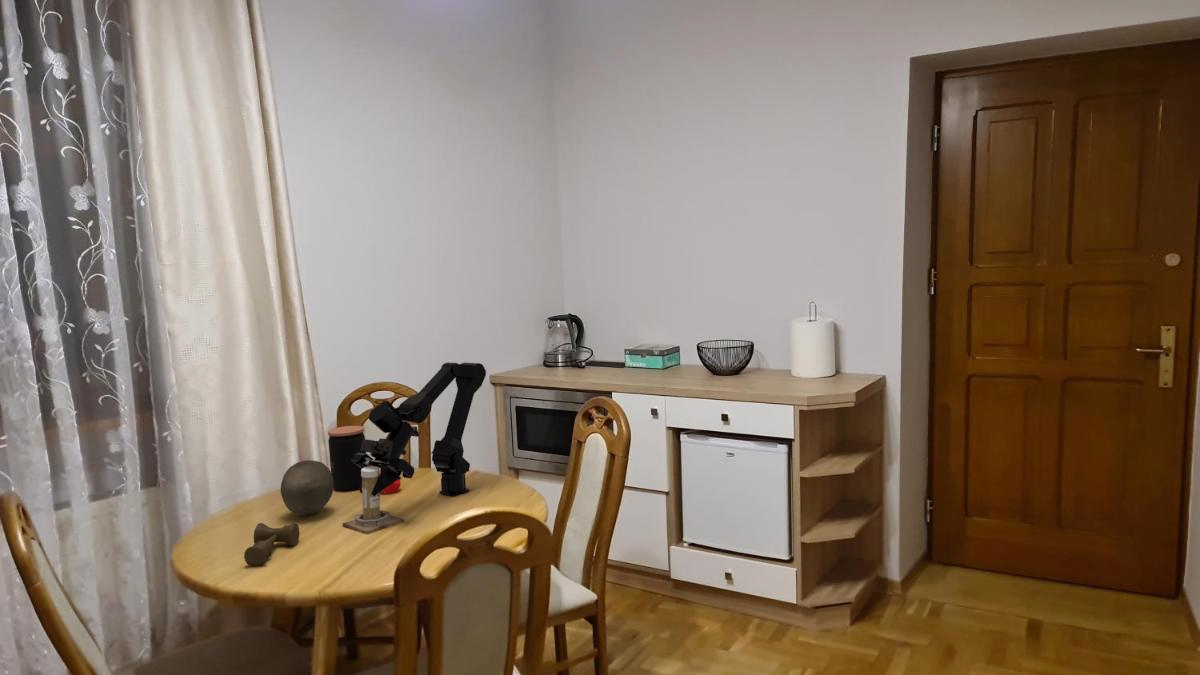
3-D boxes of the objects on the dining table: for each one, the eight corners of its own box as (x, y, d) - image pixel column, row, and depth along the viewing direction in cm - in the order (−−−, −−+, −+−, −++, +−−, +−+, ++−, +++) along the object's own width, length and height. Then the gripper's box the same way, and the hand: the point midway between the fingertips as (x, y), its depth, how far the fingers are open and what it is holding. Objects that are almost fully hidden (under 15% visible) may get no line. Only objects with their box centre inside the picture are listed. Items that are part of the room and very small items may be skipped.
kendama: (234, 570, 181) (268, 537, 201) (276, 569, 182) (306, 536, 201) (231, 545, 181) (266, 514, 200) (274, 544, 181) (304, 513, 201)
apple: (403, 469, 240) (377, 464, 237) (405, 479, 234) (378, 473, 231) (395, 490, 241) (369, 484, 238) (397, 500, 235) (371, 494, 232)
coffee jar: (342, 482, 249) (337, 425, 247) (374, 481, 248) (370, 425, 246) (326, 492, 239) (320, 433, 237) (359, 492, 237) (354, 433, 235)
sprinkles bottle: (379, 520, 206) (377, 470, 204) (361, 521, 205) (359, 471, 203) (382, 514, 210) (380, 465, 208) (364, 515, 210) (362, 465, 208)
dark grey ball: (270, 521, 214) (265, 466, 213) (310, 505, 227) (305, 453, 225) (309, 526, 208) (304, 470, 207) (348, 509, 221) (343, 456, 219)
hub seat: (378, 514, 215) (377, 506, 215) (403, 521, 208) (402, 513, 208) (342, 526, 207) (342, 518, 206) (367, 534, 200) (366, 525, 200)
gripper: (353, 423, 213) (323, 474, 205) (402, 428, 203) (372, 482, 195) (379, 445, 221) (350, 495, 213) (427, 451, 210) (399, 504, 202)
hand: (367, 494), depth 206 cm, fingers closed on sprinkles bottle, 4 cm apart
